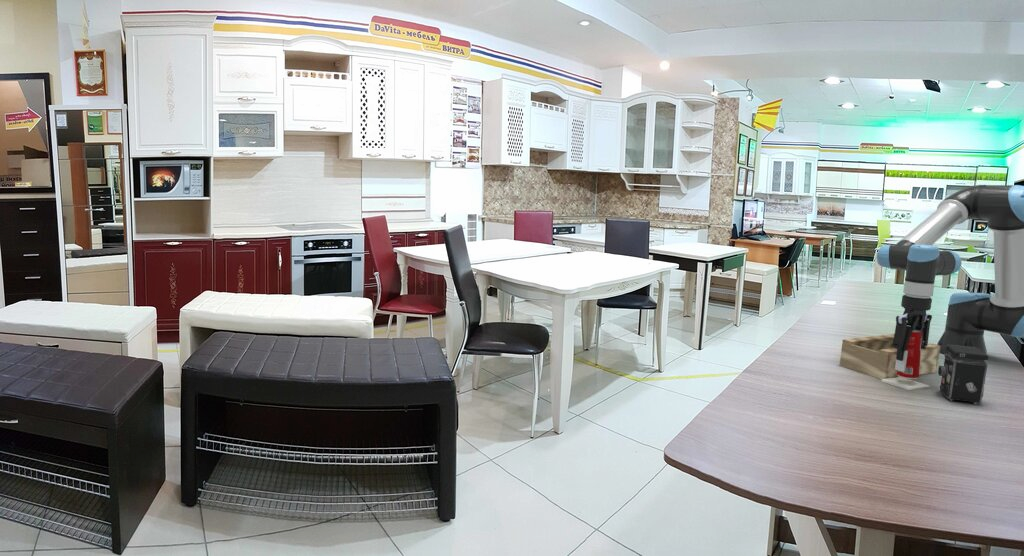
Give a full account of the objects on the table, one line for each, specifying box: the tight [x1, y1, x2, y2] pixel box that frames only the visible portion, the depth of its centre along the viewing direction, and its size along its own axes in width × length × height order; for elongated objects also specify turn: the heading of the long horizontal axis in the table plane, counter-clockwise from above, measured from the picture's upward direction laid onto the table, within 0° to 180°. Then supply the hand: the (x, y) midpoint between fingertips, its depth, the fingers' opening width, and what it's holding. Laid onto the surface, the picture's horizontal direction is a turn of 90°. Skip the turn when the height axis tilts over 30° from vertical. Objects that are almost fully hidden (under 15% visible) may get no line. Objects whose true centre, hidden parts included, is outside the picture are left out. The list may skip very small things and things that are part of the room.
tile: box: [880, 377, 930, 391], centre depth 187 cm, size 9×9×1 cm
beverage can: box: [897, 329, 922, 380], centre depth 186 cm, size 6×6×15 cm
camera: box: [937, 345, 989, 405], centre depth 175 cm, size 10×11×15 cm
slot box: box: [839, 333, 941, 380], centre depth 202 cm, size 26×16×9 cm, turn 114°
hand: (906, 369), depth 186 cm, fingers closed on beverage can, 6 cm apart
